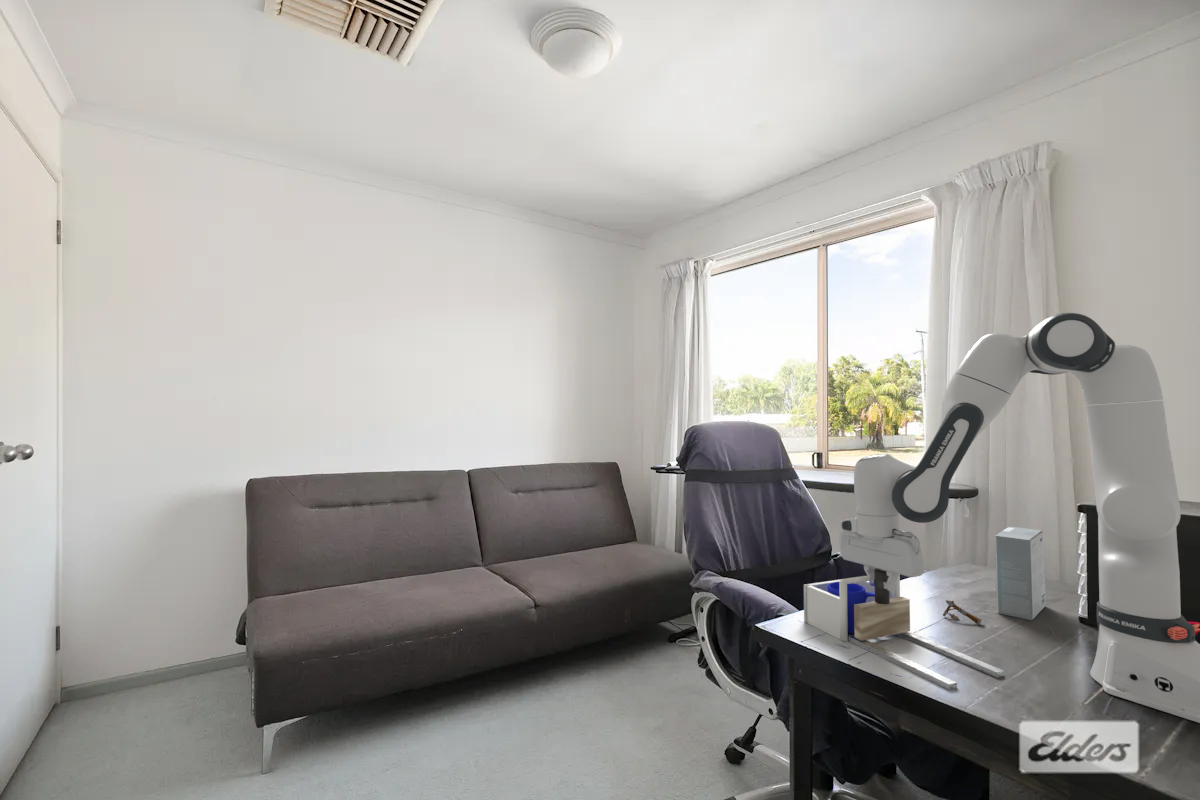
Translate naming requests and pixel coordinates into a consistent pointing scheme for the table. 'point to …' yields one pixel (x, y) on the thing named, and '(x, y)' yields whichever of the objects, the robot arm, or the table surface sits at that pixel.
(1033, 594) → the hard drive box
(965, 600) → the table surface
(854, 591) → the mug
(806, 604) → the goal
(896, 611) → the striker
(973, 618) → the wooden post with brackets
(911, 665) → the rails
